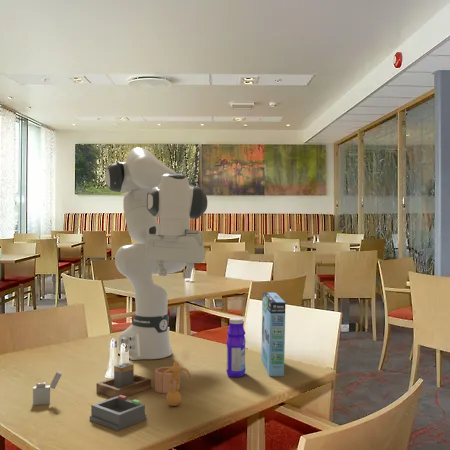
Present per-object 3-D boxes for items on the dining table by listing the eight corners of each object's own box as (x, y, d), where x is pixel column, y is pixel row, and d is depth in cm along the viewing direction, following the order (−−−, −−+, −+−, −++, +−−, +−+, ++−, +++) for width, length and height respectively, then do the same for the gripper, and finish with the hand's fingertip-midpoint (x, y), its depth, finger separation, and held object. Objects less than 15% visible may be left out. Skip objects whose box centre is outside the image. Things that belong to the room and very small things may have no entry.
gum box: (261, 359, 179) (261, 292, 179) (276, 359, 180) (276, 292, 179) (268, 376, 160) (269, 301, 159) (285, 376, 160) (286, 301, 160)
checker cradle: (89, 420, 126) (89, 403, 125) (118, 409, 133) (118, 393, 133) (117, 430, 119) (117, 413, 119) (146, 418, 127) (146, 402, 126)
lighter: (32, 405, 135) (32, 374, 135) (33, 402, 137) (33, 372, 137) (61, 402, 137) (61, 372, 137) (62, 400, 139) (62, 370, 139)
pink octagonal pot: (149, 389, 147) (149, 370, 147) (167, 383, 153) (167, 365, 153) (167, 395, 143) (167, 375, 143) (184, 388, 148) (184, 369, 148)
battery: (114, 387, 146) (114, 364, 146) (126, 383, 150) (126, 361, 150) (121, 389, 144) (121, 366, 144) (133, 385, 148) (133, 362, 148)
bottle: (243, 379, 158) (243, 321, 157) (224, 377, 159) (224, 320, 158) (247, 371, 165) (247, 316, 164) (229, 370, 166) (229, 315, 165)
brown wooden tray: (96, 392, 145) (96, 383, 145) (129, 381, 155) (129, 373, 155) (118, 399, 140) (118, 390, 140) (150, 387, 149) (150, 379, 149)
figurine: (187, 401, 139) (187, 356, 138) (193, 409, 133) (193, 362, 132) (156, 404, 136) (156, 358, 136) (160, 413, 130) (160, 365, 130)
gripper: (209, 229, 148) (209, 278, 148) (157, 228, 161) (157, 273, 161) (194, 230, 143) (194, 280, 143) (142, 228, 156) (142, 275, 156)
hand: (174, 276), depth 152 cm, fingers open, 8 cm apart
